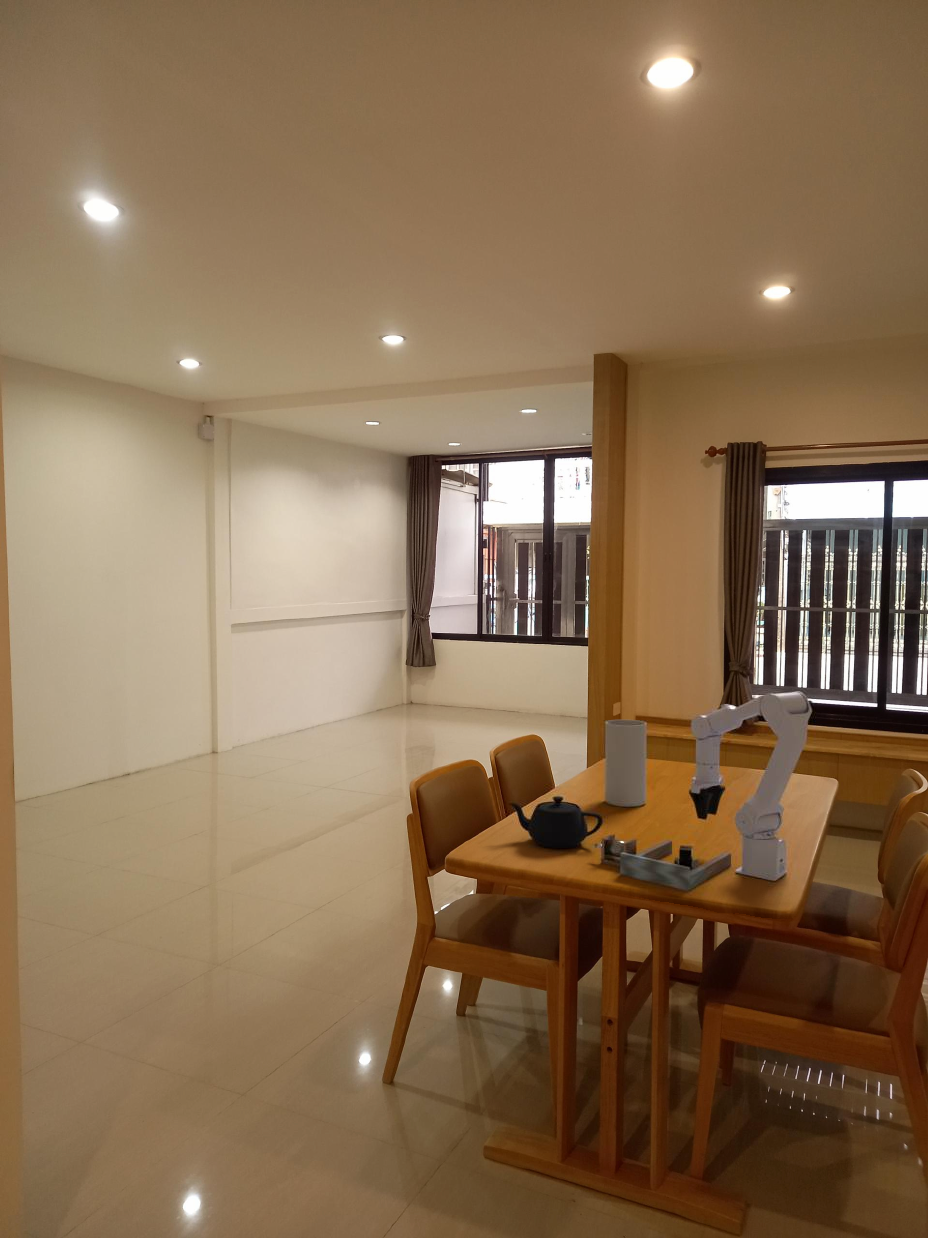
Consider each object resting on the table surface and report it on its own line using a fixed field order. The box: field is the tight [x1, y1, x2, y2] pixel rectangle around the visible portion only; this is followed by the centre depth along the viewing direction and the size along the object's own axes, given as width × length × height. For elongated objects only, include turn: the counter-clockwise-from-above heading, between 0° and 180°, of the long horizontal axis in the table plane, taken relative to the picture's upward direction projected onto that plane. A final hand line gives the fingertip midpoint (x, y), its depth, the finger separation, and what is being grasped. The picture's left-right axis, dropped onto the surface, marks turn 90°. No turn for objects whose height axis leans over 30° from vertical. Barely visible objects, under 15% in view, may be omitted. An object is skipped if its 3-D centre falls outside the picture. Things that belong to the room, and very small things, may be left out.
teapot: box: [508, 795, 604, 850], centre depth 227 cm, size 25×16×12 cm, turn 74°
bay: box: [619, 839, 732, 892], centre depth 205 cm, size 17×23×5 cm
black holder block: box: [673, 844, 699, 871], centre depth 210 cm, size 12×7×5 cm, turn 162°
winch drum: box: [594, 833, 637, 868], centre depth 211 cm, size 9×5×6 cm, turn 50°
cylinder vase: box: [604, 719, 647, 808], centre depth 269 cm, size 12×12×25 cm
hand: (707, 816), depth 218 cm, fingers open, 5 cm apart
